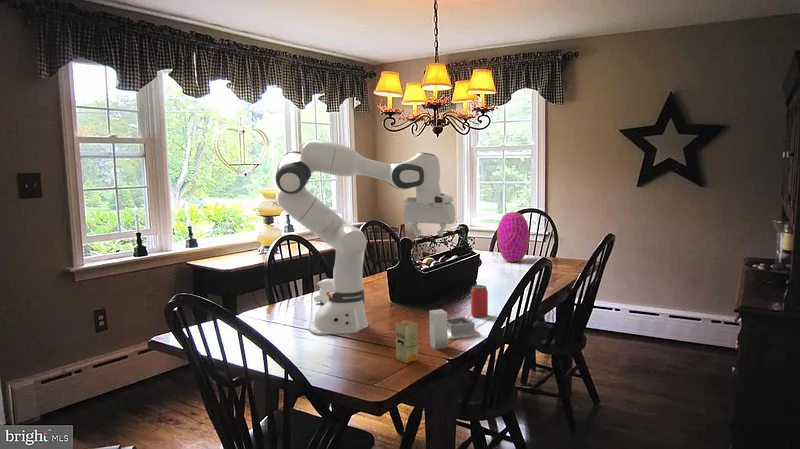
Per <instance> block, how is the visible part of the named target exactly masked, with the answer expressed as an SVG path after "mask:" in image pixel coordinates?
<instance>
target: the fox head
mask: <svg viewBox="0 0 800 449" xmlns="http://www.w3.org/2000/svg"><path fill="white" fill-rule="evenodd" d="M316 284H317V286H318V287H319V291H318V292H317V294H316V295H315V296H313V300H314V302H315V303H320V304H323V305H324V304H326V303H327V302H328V301H329V296H327V295H326V292H327V290H329V291H333V290H334V282H333V278H326V279H322V280H320V281H318V282H317V283H316Z"/></svg>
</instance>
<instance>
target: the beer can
mask: <svg viewBox="0 0 800 449" xmlns="http://www.w3.org/2000/svg"><path fill="white" fill-rule="evenodd" d="M488 293H489V292H488V289H487V286H486V285H482V284H477V285H472V287H471V292H470V295H471V296H470V309H471V310H470V315H471V316H472V317H474V318H478V319H482V318H487V317H488V314H489V312H488V308H489V307H488V306H489V302H488V301H489V299H488V296H489V295H488Z"/></svg>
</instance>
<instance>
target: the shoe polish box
mask: <svg viewBox="0 0 800 449" xmlns="http://www.w3.org/2000/svg"><path fill="white" fill-rule="evenodd" d="M418 328H419V327H418V322H416V321H414V320H411V319H403V320H399V321H396V322H395V356H396V358H395V359H396V360H398V361H400V362H402V363H405V364H408V363H411V362H414V361H418V360H419V332H418V331H419V329H418Z"/></svg>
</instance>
